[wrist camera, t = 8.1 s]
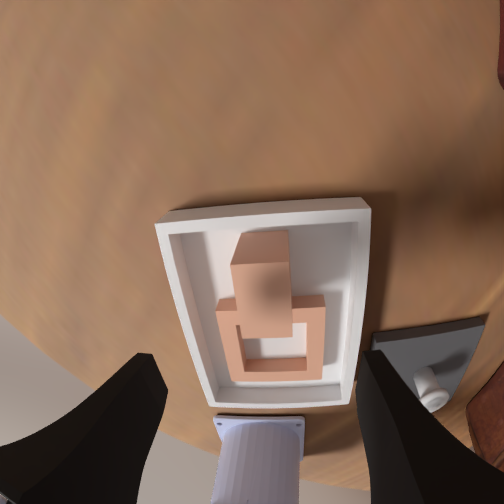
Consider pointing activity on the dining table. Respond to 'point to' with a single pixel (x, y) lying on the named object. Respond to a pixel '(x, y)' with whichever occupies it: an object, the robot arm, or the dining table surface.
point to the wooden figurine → (488, 421)
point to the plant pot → (501, 46)
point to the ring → (268, 311)
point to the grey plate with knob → (431, 357)
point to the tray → (302, 284)
